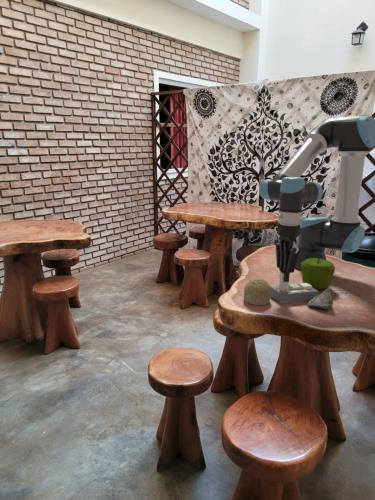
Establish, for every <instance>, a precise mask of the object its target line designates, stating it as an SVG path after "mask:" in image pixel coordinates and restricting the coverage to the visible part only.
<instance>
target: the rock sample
mask: <svg viewBox="0 0 375 500" xmlns="http://www.w3.org/2000/svg"><path fill="white" fill-rule="evenodd" d="M331 291H332V290H331V288H330V287H327V288H325V289H324V291H323V292H321V293H320V294H318V296H315V297H314V298H312V299H310V300H309V301H307V306H308V307H310V308H316V309H317V308H318V309H323V310H325V311H329V310H331V307H332V306H333V305H334V301H333V297H332V292H331Z"/></svg>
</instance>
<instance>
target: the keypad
mask: <svg viewBox="0 0 375 500" xmlns="http://www.w3.org/2000/svg"><path fill="white" fill-rule="evenodd" d="M296 284H297V285H299V284H300V283H296ZM277 289H279V285H277V286H271V298H273V299H274V300H275V301H277V302H278V303H279V304H280V305H285V304H286V305H287V304H294V303H295V304H296V303H303V302H309V300H310V299H312V298H314V297H315V296H318V295H319V289H314V288H312V289H311V290H302V289H301V290H295V291H291V290H290V289H288V290H289V291H290V292H282V293H281V292H280V291H278V290H277Z"/></svg>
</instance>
